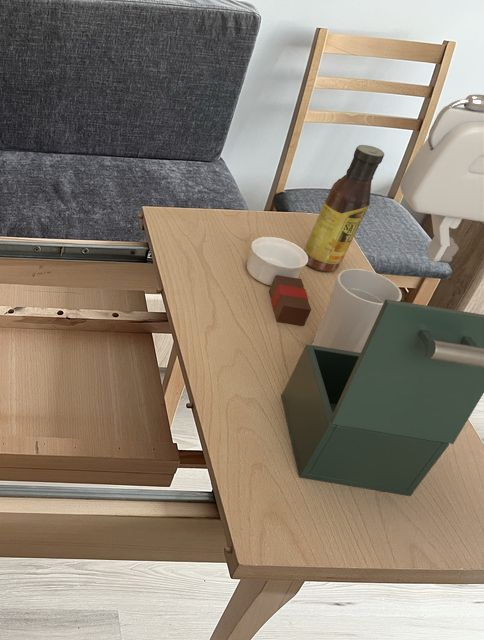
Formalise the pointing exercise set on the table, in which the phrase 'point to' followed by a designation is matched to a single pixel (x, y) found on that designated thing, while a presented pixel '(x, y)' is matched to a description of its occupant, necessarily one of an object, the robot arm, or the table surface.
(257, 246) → the ramekin
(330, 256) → the sauce bottle
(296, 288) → the chocolate bar
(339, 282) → the cup
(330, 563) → the table surface
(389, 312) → the bin lid
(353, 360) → the trash can
